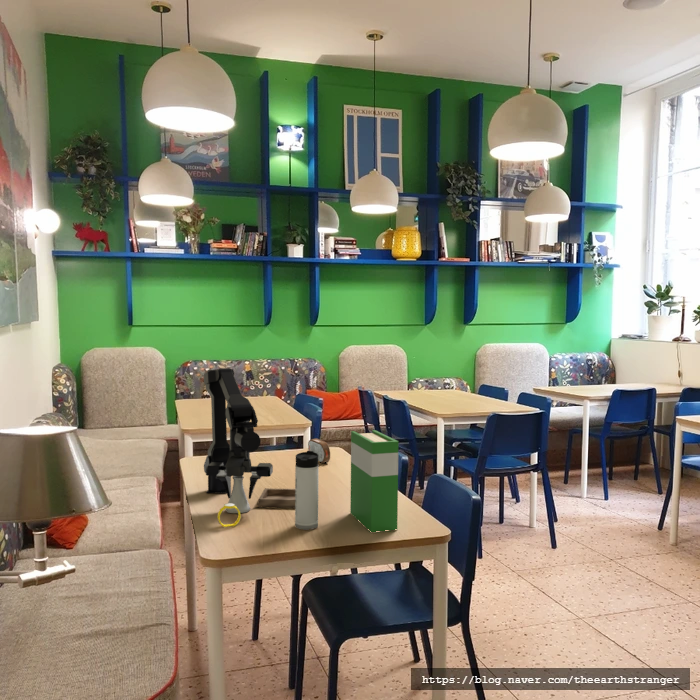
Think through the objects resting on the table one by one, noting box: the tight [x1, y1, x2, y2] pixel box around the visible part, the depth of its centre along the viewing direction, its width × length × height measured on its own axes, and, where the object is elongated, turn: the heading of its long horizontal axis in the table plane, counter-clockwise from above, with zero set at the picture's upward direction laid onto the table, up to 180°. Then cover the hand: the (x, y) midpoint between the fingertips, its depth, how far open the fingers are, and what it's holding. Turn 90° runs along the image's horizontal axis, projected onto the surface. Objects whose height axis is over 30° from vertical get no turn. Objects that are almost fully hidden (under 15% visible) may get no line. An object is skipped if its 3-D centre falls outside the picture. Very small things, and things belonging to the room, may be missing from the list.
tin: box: [307, 437, 331, 464], centre depth 248 cm, size 15×3×8 cm, turn 30°
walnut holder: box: [257, 487, 295, 509], centre depth 192 cm, size 12×12×2 cm
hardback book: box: [349, 429, 399, 533], centre depth 173 cm, size 18×7×24 cm, turn 18°
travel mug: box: [294, 450, 320, 531], centre depth 169 cm, size 6×7×20 cm
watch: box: [217, 502, 241, 528], centre depth 169 cm, size 6×3×6 cm, turn 111°
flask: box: [225, 475, 251, 514], centre depth 183 cm, size 7×7×10 cm
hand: (239, 498), depth 183 cm, fingers open, 6 cm apart
